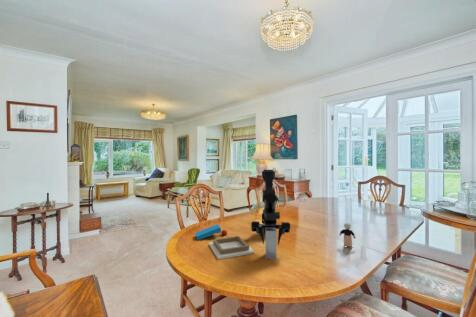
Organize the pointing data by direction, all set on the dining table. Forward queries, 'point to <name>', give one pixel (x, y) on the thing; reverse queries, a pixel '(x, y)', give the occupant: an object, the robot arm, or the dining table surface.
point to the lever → (209, 232)
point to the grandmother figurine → (347, 235)
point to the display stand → (230, 247)
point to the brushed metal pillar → (270, 243)
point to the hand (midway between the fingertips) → (270, 243)
